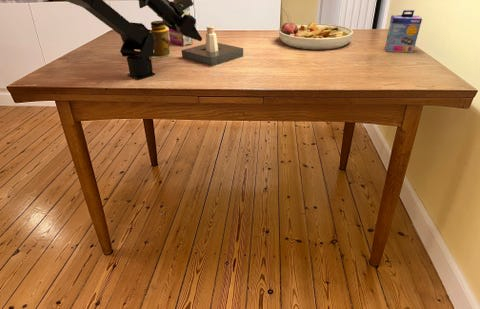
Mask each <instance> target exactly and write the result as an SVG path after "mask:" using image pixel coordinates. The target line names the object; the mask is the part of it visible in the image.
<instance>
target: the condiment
mask: <svg viewBox="0 0 480 309" xmlns="http://www.w3.org/2000/svg"><path fill="white" fill-rule="evenodd" d="M150 25H151V27H150V28H151V29H150V30H151V31H150V33H151V34H152V35H153V39H154V50H153V56H151V57H150V59H151V58H152V59H158V58H163V57H168V56H169V57H170V56H174V53H171V48H170V43H169V42H170V39H169V36H168V34H169V31H168V29H167V27H166V26H165V25H164V24H163V20H154V21H151V22H150Z"/></svg>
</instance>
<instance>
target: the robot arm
mask: <svg viewBox="0 0 480 309" xmlns="http://www.w3.org/2000/svg"><path fill="white" fill-rule="evenodd" d="M64 1H65V2H68V3H70V4H73V5H75V6H79V7H81V8H83V9H85V10H86V11H87V12H88V13H90V14H92V15H93V16H94V17H95V18H97V19H98V20H99V21H101V22H102V23H103V24H105V25H106V26H107V27H109V28H110V29H111V30H113V31H114V32H116V33H117V35H119V36H120V38H121V41H122V45H121V48H120V49H119V50H120V51H119V52H120V54H121V56H122V57H126V60H127V67H128V73H127V76H128V77H131V78H133V79H135V80H142V79H145V78H148V77H151V76H154V75H156V73H155V72H154V71H153V70H154V69H153V63H152V59H151V56H153V53H154V39H153V35H152V34H151V30H152V29H149V28H147V27H146V25H145V24H143V23H142V22H132V21H131V22H130V21H129V20H127V19H126V18H125V17H124V16H123V15H122V14H120V13H119V12H118V11H116V9H115V8H113V7H112V6H110V5H109V3H107V2H106V1H105V0H64ZM137 1H138V8H139V9H142V8H145V7H146V6H147V7H148V8H149V9H150V10H152V12H154V13H155V14H156V16H158V17H159V18H160V19H162V21H163V24H164V25H165V26H166V28H168V29H169V28H170V29H172V30H174V31H177V32H179V33H181V34H182V35H184V36H186V37H189V38H192V40H195V41H198V42H201V41H202V40H203V37H202V36H201V34H200V32H199V31H198V29H197V28H196V23H197V19H196V18H195V17H194V16H193V15H191V14H190V15H188V14H187V15H184V16H183V17H182V15H183V14H184V12H183V10H185V9H187V8H188V7H189V8H190V7H192V6H193V5H194V2H193V0H137ZM170 1H171V2H170ZM172 1H173V2H172Z"/></svg>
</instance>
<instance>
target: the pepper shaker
mask: <svg viewBox="0 0 480 309" xmlns="http://www.w3.org/2000/svg"><path fill="white" fill-rule="evenodd" d="M206 30H207V31H206V32H207V33H206V34H205V44H206V51H208V52H216V51H218V44H217V43H218V38H217V34H216V33H215V26H213V25H207V26H206Z"/></svg>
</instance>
